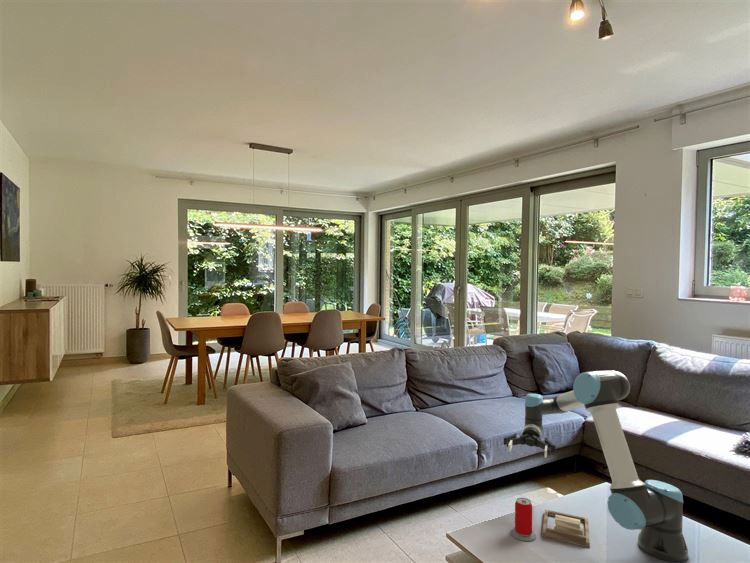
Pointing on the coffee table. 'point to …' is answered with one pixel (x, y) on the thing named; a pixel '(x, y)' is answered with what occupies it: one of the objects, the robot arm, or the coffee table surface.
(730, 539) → the coffee table surface
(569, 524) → the plywood offcut stack
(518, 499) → the beverage can
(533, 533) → the slate pad
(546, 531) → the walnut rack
